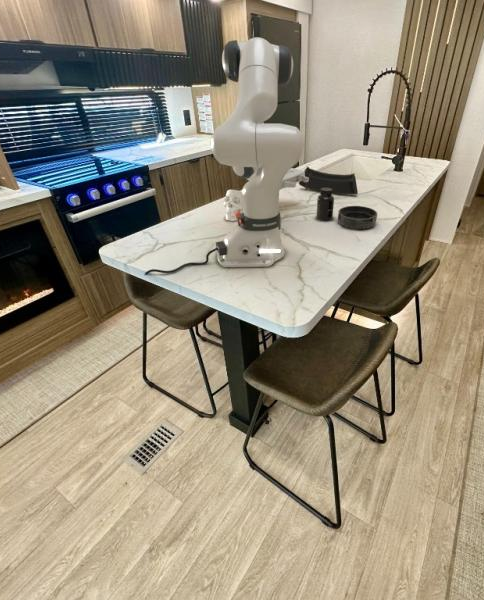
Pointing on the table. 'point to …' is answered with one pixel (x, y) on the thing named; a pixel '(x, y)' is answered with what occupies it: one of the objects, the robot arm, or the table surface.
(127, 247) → the table surface
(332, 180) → the magazine
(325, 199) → the supplement bottle
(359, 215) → the bowl
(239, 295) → the table surface
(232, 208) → the skull bowl
